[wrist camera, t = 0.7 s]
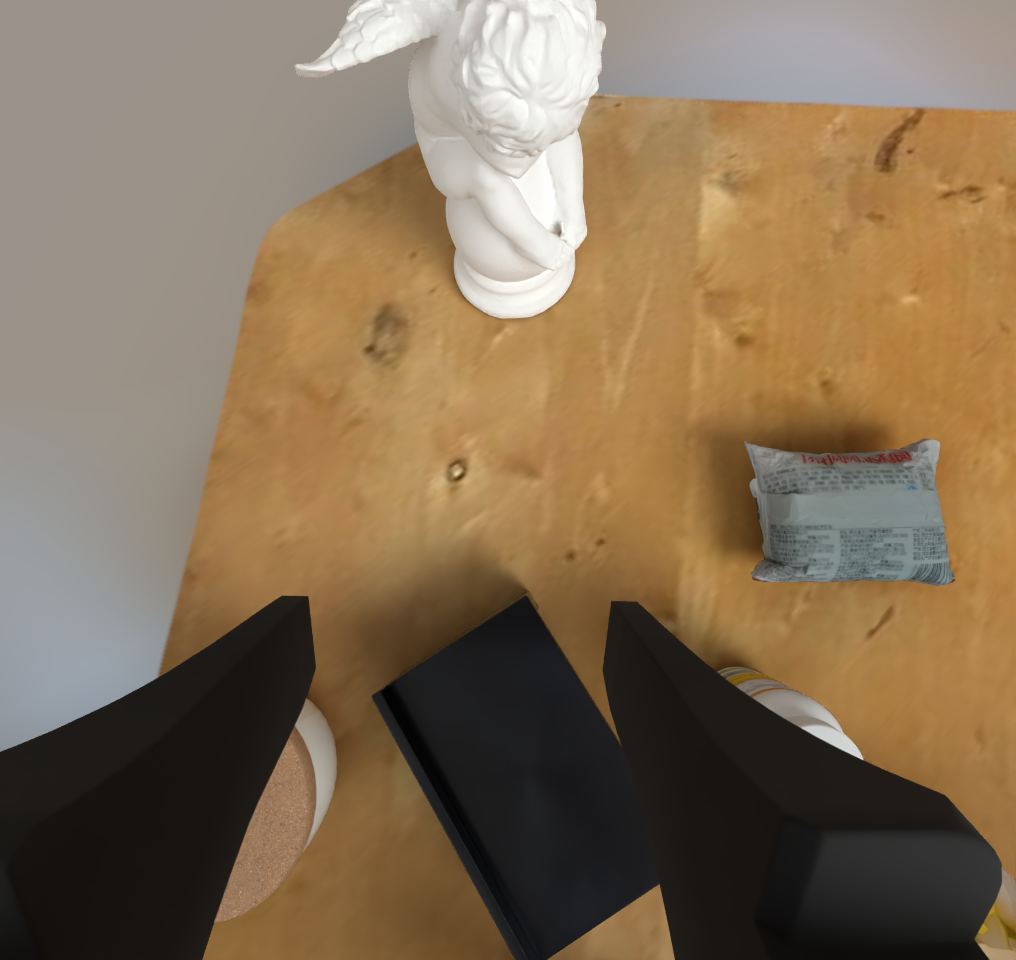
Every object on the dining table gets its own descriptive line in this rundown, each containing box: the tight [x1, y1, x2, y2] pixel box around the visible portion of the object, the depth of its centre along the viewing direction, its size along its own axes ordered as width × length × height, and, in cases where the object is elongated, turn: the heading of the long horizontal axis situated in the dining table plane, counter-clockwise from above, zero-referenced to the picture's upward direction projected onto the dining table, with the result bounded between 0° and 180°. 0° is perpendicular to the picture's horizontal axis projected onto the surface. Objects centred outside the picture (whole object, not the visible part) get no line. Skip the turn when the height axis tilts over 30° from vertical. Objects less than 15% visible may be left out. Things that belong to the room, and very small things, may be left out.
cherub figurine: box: [294, 0, 606, 319], centre depth 27 cm, size 12×12×22 cm
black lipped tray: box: [372, 591, 660, 960], centre depth 30 cm, size 16×10×6 cm, turn 32°
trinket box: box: [214, 698, 337, 923], centre depth 29 cm, size 11×11×9 cm
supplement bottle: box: [717, 667, 864, 760], centre depth 27 cm, size 5×5×10 cm
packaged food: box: [744, 439, 955, 586], centre depth 31 cm, size 9×12×5 cm
